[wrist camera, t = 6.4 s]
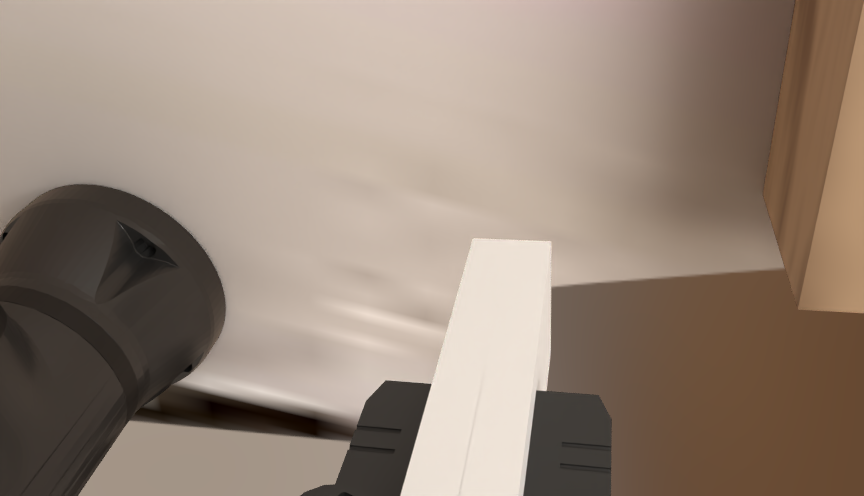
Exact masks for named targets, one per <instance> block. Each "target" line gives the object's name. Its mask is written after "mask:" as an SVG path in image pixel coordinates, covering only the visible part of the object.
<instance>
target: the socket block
mask: <svg viewBox="0 0 864 496" xmlns="http://www.w3.org/2000/svg"><path fill="white" fill-rule="evenodd" d="M763 197H764V200H765V203H766V207H767V210H768V213H769V217H770V220H771V223H772V226H773V230H774V233H775V236H776V240H777V243H778V246H779V250H780V253H781V256H782V259H783V263H784V266H785V269H786V273H787V276H788V279H789V282H790V286H791V289H792V292H793V296H794V299H795V302H796V306H797V309H798V310H816V311H835V312H853V313H864V0H795V6H794V12H793V18H792V24H791V30H790V36H789V42H788V47H787V53H786V59H785V65H784V71H783V77H782V83H781V89H780V95H779V101H778V107H777V113H776V119H775V125H774V131H773V137H772V142H771V148H770V154H769V160H768V166H767V172H766V178H765V184H764V190H763Z"/></svg>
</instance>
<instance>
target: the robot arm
mask: <svg viewBox="0 0 864 496" xmlns="http://www.w3.org/2000/svg"><path fill="white" fill-rule="evenodd" d="M225 311H226V307H225V297H224V292H223V288H222V284H221V281H220V279H219V276H218V274H217V272H216V269H215V267H214V266H213V264H212V262H211V260H210V259H209V257H208V256H207V254H206V253H205V251H204V250H203V248H202V247H201V246H200V245H199V243H198V242H197V241H196V240H195V239H194V238H193V237H192V235H191V234H190V233H189V232H188V231H187V230H186V229H184V228H183V227H182V226H181V225H180V224H179V223H178V222H177V221H175V220H174V219H173V218H171V217H170V216H169V215H168V214H166V213H165V212H163V211H162V210H160V209H159V208H157V207H155V206H154V205H152V204H150V203H148V202H146V201H145V200H142V199H140V198H138V197H136V196H134V195H131V194H129V193H126V192H123V191H120V190H116V189H113V188H108V187H103V186H97V185H69V186H63V187H59V188H55V189H53V190H50V191H48V192H46V193H44V194H42V195H41V196H39V197H38V198H36V199H35V200H34V201H32V202H31V203H30V204H29V205H28V206H26V207H25V208H24V209H23V210H22V211H20V212H19V213H18V214H17V215H16V216H15V217H14V218H13V219H12V220H11V221H10V222H9V223H8V225H7V226H6V227H5V229H4V230H3V232H2V234H1V236H0V496H78V495H79V493H80V492H81V490H82V489H83V487H84V486H85V484H86V483H87V481H88V480H89V479H90V477H91V476H92V474H93V473H94V471H95V470H96V468H97V467H98V465H99V464H100V462H101V461H102V459H103V458H104V457H105V455H106V453H107V452H108V451H109V449H110V448H111V446H112V445H113V443H114V442H115V440H116V439H117V437H118V436H119V434H120V433H121V431H122V430H123V428H124V427H125V426H126V424H127V423H128V421H129V420H130V419H131V417H132V416H133V414H134V413H135V412H136V411H137V410H138V409H140V408H141V407H143V406H144V405H145V404H147V403H148V402H150V401H151V400H153V399H154V398H156V397H157V396H158V395H160V394H161V393H162V392H164V391H165V390H166V389H167V388H168V387H169V386H170V385H171V384H174V383H176V382H178V381H180V380H181V379H183V378H185V377H186V376H188V375H189V374H190V373H192V372H193V371H194V370H195V369H196V368H197V367H198V366H199V365H200V364H201V363H202V362H203V360H204V359H205V358H206V356H207V354H208V353H209V351H210V350H211V348H212V347H213V345H214V344H215V342H216V341H217V339H218V338H219V336H220V333H221V331H222V328H223V325H224V321H225ZM550 353H551V241H532V240H506V239H481V238H473V240H472V243H471V247H470V251H469V254H468V258H467V261H466V265H465V268H464V272H463V275H462V279H461V282H460V286H459V290H458V293H457V297H456V300H455V304H454V307H453V311H452V314H451V318H450V321H449V325H448V328H447V332H446V336H445V339H444V343H443V346H442V350H441V353H440V357H439V360H438V364H437V367H436V371H435V374H434V378H433V382H432V384H424V383H412V382H399V381H385V382H384V383H383V384H382V385H381V386H380V387H379V388H378V389H377V390H376V391H375V392H374V393H373V394H372V395H371V396H370V397H369V399H368V400H367V401H366V403H365V405H364V408H363V411H362V413H361V416H360V419H359V422H358V424H357V430H355V432H354V435H353V438H352V440H351V443H350V449H349V450H348V451H347V454H346V456H345V459H344V462H343V465H342V467H341V470H340V473H339V475H338V478H337V481H336V484H335V485H323V486H320V487H318V488H315V489H312V490H309V491H307V492H305V493H303V494H302V495H301V496H611V427H612V422H611V421H612V420H611V418H610V416H609V414H608V412H607V410H606V408H605V406H604V404H603V403H602V401H601V399H600V397H599V395H590V394H577V393H564V392H552V391H547V380H548V372H549V363H550Z"/></svg>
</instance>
